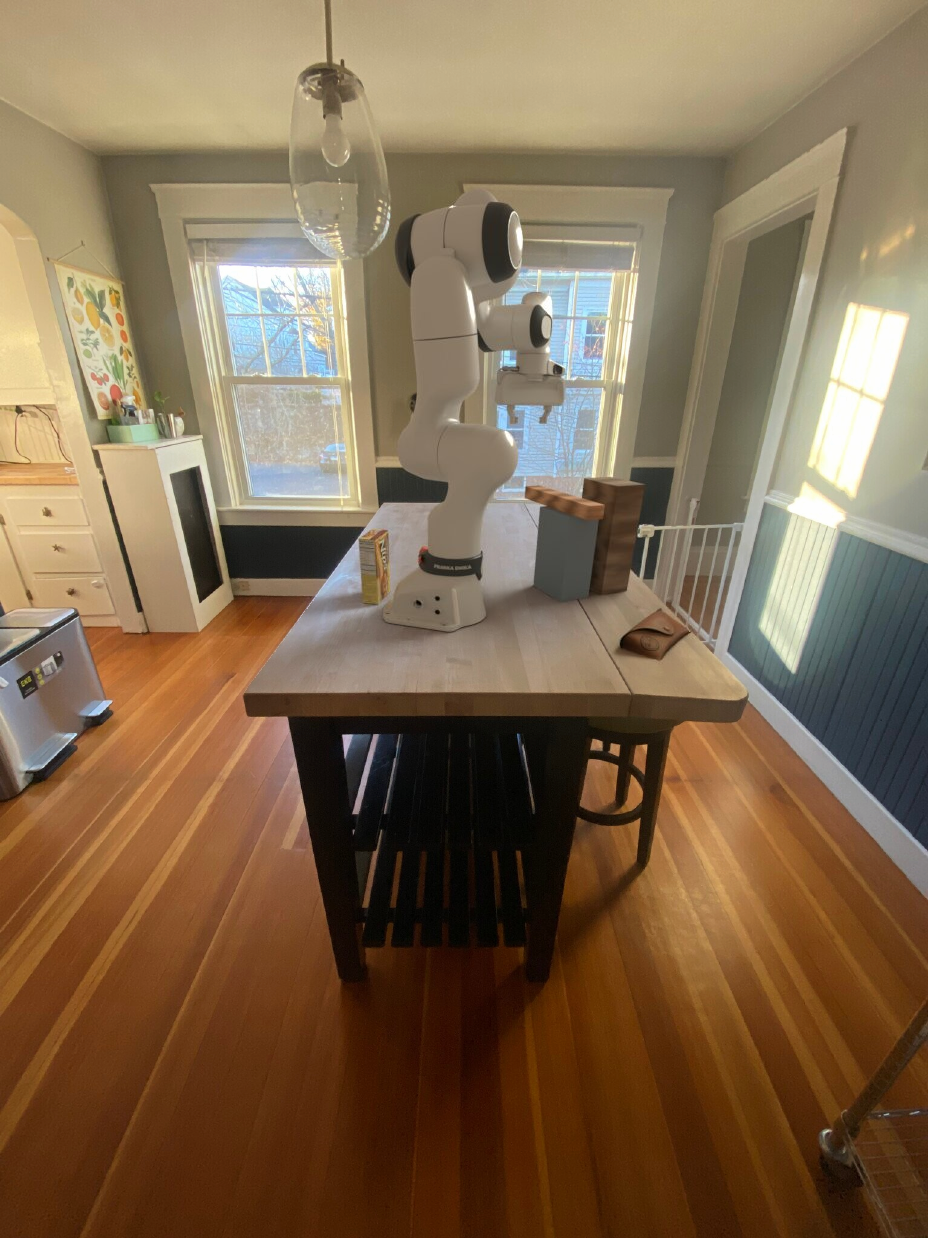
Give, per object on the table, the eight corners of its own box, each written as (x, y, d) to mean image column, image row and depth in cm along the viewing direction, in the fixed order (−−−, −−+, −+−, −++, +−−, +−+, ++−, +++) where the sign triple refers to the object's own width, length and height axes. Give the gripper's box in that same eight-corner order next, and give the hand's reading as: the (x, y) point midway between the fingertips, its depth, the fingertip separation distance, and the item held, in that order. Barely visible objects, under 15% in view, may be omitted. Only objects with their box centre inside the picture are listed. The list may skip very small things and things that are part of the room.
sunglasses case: (662, 662, 88) (649, 628, 88) (627, 667, 93) (615, 635, 93) (693, 630, 101) (682, 600, 100) (661, 636, 106) (650, 608, 105)
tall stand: (572, 579, 128) (584, 478, 117) (596, 575, 131) (610, 476, 120) (601, 595, 118) (617, 486, 107) (626, 590, 121) (645, 484, 110)
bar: (524, 498, 124) (525, 486, 123) (537, 497, 125) (538, 485, 124) (587, 520, 103) (589, 506, 101) (602, 518, 104) (604, 504, 103)
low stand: (533, 585, 123) (539, 506, 115) (559, 581, 126) (567, 504, 118) (560, 602, 113) (570, 517, 105) (588, 597, 116) (599, 514, 108)
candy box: (375, 589, 118) (371, 528, 112) (391, 591, 118) (388, 529, 111) (362, 603, 110) (357, 538, 104) (379, 605, 110) (375, 539, 103)
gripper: (503, 364, 121) (500, 424, 126) (570, 368, 129) (565, 424, 134) (491, 366, 126) (489, 423, 132) (557, 369, 134) (552, 423, 139)
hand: (528, 423), depth 133 cm, fingers open, 8 cm apart
